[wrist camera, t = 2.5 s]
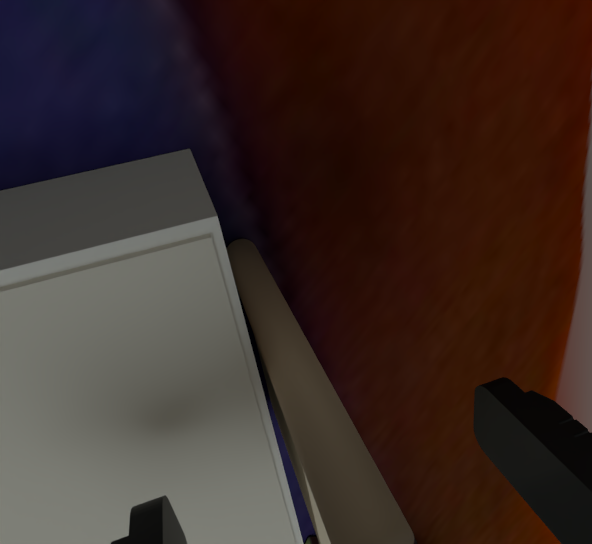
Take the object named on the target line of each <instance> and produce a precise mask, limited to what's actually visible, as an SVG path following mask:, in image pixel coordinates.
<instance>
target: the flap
mask: <svg viewBox="0 0 592 544" xmlns="http://www.w3.org/2000/svg"><path fill="white" fill-rule="evenodd" d="M227 254H228V258H229V262H230V265H231V269H232V273H233V277H234V281H235V284H236V286H237V289H238V292H239V295H240V297H241V300H242V303H243V306H244V308H245V311H246V314H247V316H248V319H249V322H250V325H251V327H252V330H253V333H254V337H255V341H256V345H257V349H258V353H259V356H260V360H261V364H262V368H263V372H264V376H265V380H266V384H267V388H268V392H269V396H270V400H271V403H272V407H273V410H274V413H275V416H276V419H277V421H278V424H279V427H280V430H281V433H282V436H283V439H284V442H285V445H286V448H287V451H288V454H289V456H290V459H291V462H292V465H293V468H294V471H295V474H296V477H297V480H298V483H299V486H300V489H301V491H302V494H303V497H304V500H305V503H306V506H307V509H308V512H309V515H310V518H311V521H312V524H313V526H314V529H315V532H316V535H317V538H318V541H319V544H414V534H413V532H412V530H411V528H410V526H409V525H408V523H407V521H406V519H405V517H404V516H403V514H402V512H401V510H400V508H399V506H398V505H397V503H396V501H395V499H394V497H393V496H392V494H391V492H390V490H389V488H388V486H387V485H386V483H385V481H384V479H383V477H382V476H381V474H380V472H379V470H378V468H377V466H376V465H375V463H374V461H373V459H372V457H371V456H370V454H369V452H368V450H367V448H366V446H365V445H364V443H363V441H362V439H361V437H360V436H359V434H358V432H357V430H356V428H355V426H354V425H353V423H352V421H351V419H350V417H349V415H348V414H347V412H346V410H345V408H344V406H343V405H342V403H341V401H340V399H339V397H338V395H337V394H336V392H335V390H334V388H333V386H332V385H331V383H330V381H329V379H328V377H327V375H326V374H325V372H324V370H323V368H322V366H321V365H320V363H319V361H318V359H317V357H316V355H315V354H314V352H313V350H312V348H311V346H310V345H309V343H308V341H307V339H306V337H305V335H304V334H303V332H302V330H301V328H300V326H299V324H298V323H297V321H296V319H295V317H294V315H293V314H292V312H291V310H290V308H289V306H288V304H287V303H286V301H285V299H284V297H283V295H282V294H281V292H280V290H279V288H278V286H277V284H276V283H275V281H274V279H273V277H272V275H271V274H270V272H269V270H268V268H267V266H266V264H265V263H264V261H263V259H262V257H261V255H260V254H259V252H258V250H257V248H256V246H255V245H254V243H252V242H251V241H250V240H247V239H238V240H235V241H233V242H232V243H231V244H230V245H229V246H228V247H227Z"/></svg>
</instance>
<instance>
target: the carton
mask: <svg viewBox="0 0 592 544" xmlns="http://www.w3.org/2000/svg"><path fill="white" fill-rule="evenodd" d="M164 495H166V496H167V498H168V499H169V501H170V504H171V506H172V508H173V510H174V512H175V515H176V517H177V519H178V521H179V523H180V526H181V528H182V530H183V532H184V534H185V537H186V541H187V544H303V540H302V536H301V533H300V529H299V525H298V521H297V517H296V513H295V510H294V506H293V502H292V498H291V494H290V491H289V487H288V483H287V479H286V475H285V471H284V468H283V464H282V460H281V456H280V452H279V449H278V445H277V441H276V437H275V433H274V430H273V426H272V422H271V418H270V414H269V410H268V407H267V403H266V399H265V395H264V391H263V388H262V384H261V380H260V376H259V372H258V368H257V365H256V361H255V357H254V353H253V349H252V346H251V342H250V338H249V334H248V330H247V327H246V323H245V319H244V315H243V311H242V307H241V304H240V300H239V296H238V292H237V288H236V285H235V281H234V277H233V273H232V269H231V265H230V262H229V258H228V254H227V250H226V246H225V243H224V239H223V235H222V231H221V227H220V224H219V220H218V216H217V213H216V211H215V209H214V206H213V204H212V201H211V199H210V196H209V194H208V191H207V189H206V187H205V184H204V182H203V179H202V177H201V174H200V172H199V170H198V167H197V165H196V162H195V160H194V157H193V155H192V153H191V150H190V149H186V150H181V151H177V152H172V153H168V154H163V155H159V156H154V157H150V158H145V159H141V160H136V161H132V162H127V163H123V164H118V165H114V166H109V167H105V168H100V169H96V170H91V171H87V172H82V173H78V174H73V175H69V176H64V177H60V178H55V179H51V180H46V181H42V182H37V183H33V184H28V185H24V186H19V187H15V188H10V189H6V190H1V191H0V544H111V542H112V541H115V540H118V539H120V538H123V537H126V536H129V522H130V512H131V509H132V507H133V506H136V505H139V504H142V503H144V502H147V501H150V500H153V499H156V498H159V497H161V496H164Z"/></svg>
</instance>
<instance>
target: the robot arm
mask: <svg viewBox="0 0 592 544" xmlns="http://www.w3.org/2000/svg"><path fill="white" fill-rule="evenodd" d="M474 432H475V436H476V439H477V441H478V443H479V445H480V447H481V448H482V450H483V451H484V452H485V454H486V455H487V456H488V457H489V458H490V460H491V461H492V462H493V463H494V464H495V466H496V467H497V468H498V469H499V470H500V471H501V473H502V474H503V475H504V476H505V477H506V479H507V480H508V481H509V482H510V483H511V484H512V486H513V487H514V488H515V489H516V490H517V491H518V493H519V494H520V495H521V496H522V497H523V499H524V500H525V501H526V502H527V503H528V504H529V506H530V507H531V508H532V509H533V510H534V512H535V513H536V514H537V515H538V516H539V517H540V519H541V520H542V521H543V522H544V523H545V525H546V526H547V527H548V528H549V529H550V530H551V532H552V533H553V534H554V535H555V536H556V538H557V539H558V540H559V541H560V542H561V543H562V544H592V433H589V432H588V429H587V428H586V427H584V426H583V425H582V424H581V423H580V422H579V421H577V420H574V419H573V417H572V416H571V415H570V414H569V413H568V412H567V411H565V410H564V409H563V408H562V407H561V406H560V405H558V404H557V403H556V402H555V401H553V400H551V399H549V398H547V397H545V396H543V395H540V394H538V393H536V392H534V391H532V390H531V391H529V392H526V393H525V392H523V391H522V390H521V389H520V388H519V387H518V386H517V385H516V384H514V383H513V382H512V381H511V380H509V379H508V378H504V377H503V378H499V379H497V380H494V381H491V382H488V383H485V384H482V385H480V386H477V387H476V389H475V401H474ZM111 544H187V541H186V537H185V534H184V532H183V530H182V528H181V526H180V523H179V521H178V519H177V517H176V515H175V512H174V510H173V508H172V506H171V504H170V501H169V499H168V498H167V496H166V495H164V496H161V497H159V498H156V499H153V500H150V501H147V502H144V503H142V504H139V505H136V506H133V507H132V509H131V512H130V522H129V536H126V537H123V538H120V539H118V540H115V541H112V542H111Z"/></svg>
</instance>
